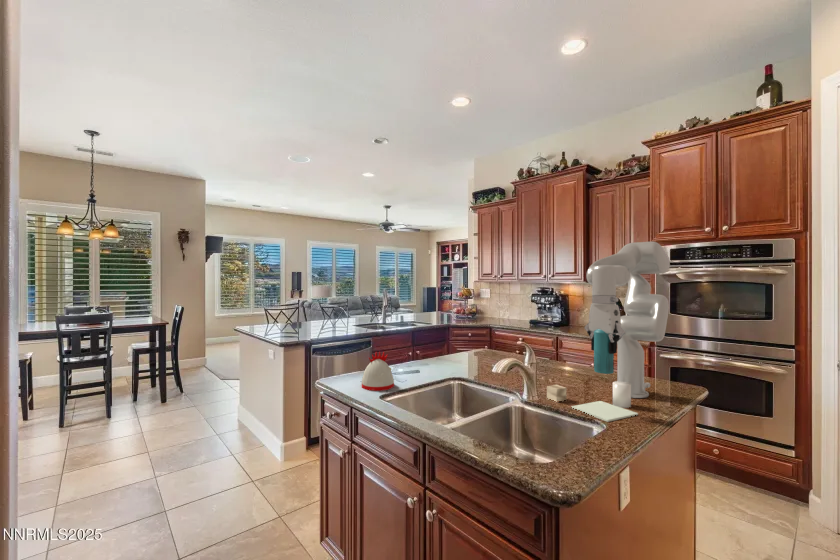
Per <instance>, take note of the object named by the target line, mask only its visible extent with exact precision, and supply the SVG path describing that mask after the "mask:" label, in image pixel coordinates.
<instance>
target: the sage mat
mask: <svg viewBox="0 0 840 560" xmlns="http://www.w3.org/2000/svg"><path fill="white" fill-rule="evenodd" d="M571 407H572V408H571ZM570 408H571V409H573V408H574V409H573V410H575V409H577V410H576V411H578V410H580V411H582V412H581V413H583V412H585V413H584V414H586V413H587V414H586V415H588V414H589V415H588V416H591V415H592V416H591V417H593V416H594V418H596V419H599V420H602V421H604V422H607V423H609V422H613V421H618V420H622V419H626V418H631V416H632V417H635V415H636V416H638V415H639V413H638V412H636V411H633V410H630V409H628V408H621V407H618V406H615V405H613V403H612V404H611V403H608V402H605V401H602V400H598V401H597V400H596V401H593V402H587V403H581V404H577V405H571V406H570ZM580 411H579V412H580Z"/></svg>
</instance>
